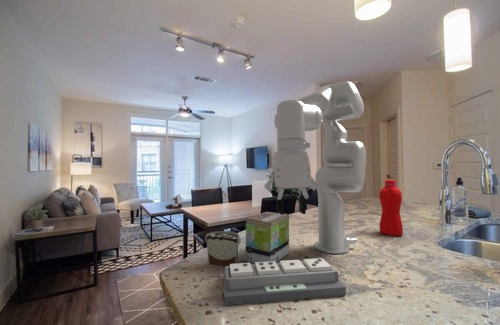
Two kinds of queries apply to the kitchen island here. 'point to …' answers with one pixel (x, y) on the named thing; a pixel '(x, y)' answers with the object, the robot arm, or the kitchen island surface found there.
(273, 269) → the key four dots
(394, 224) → the red plastic bottle
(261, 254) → the tea box
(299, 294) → the keypad
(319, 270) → the key three dots
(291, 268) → the key one dot
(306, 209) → the robot arm
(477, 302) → the kitchen island surface
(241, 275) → the key two dots
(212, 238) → the food container
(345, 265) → the kitchen island surface
